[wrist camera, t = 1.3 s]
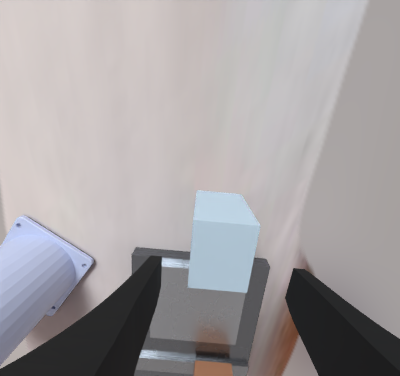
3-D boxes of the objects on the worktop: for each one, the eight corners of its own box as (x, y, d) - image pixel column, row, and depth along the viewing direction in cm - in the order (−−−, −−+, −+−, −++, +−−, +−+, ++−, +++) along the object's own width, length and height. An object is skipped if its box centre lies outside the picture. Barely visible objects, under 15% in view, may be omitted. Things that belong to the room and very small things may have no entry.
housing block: (233, 242, 18) (246, 292, 12) (192, 238, 18) (187, 287, 12) (241, 194, 17) (260, 225, 11) (197, 190, 17) (193, 219, 11)
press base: (239, 378, 24) (242, 398, 22) (137, 369, 24) (132, 388, 22) (265, 258, 19) (272, 271, 17) (136, 247, 18) (129, 259, 17)
